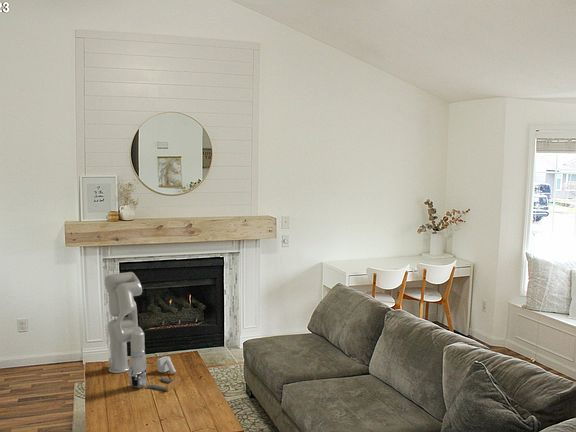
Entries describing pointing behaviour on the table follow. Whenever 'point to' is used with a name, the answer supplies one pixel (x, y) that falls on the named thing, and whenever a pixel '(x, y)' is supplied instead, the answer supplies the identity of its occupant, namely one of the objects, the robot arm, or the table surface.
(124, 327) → the robot arm
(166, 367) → the white jointed piece
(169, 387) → the receiver
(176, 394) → the table surface
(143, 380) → the block
